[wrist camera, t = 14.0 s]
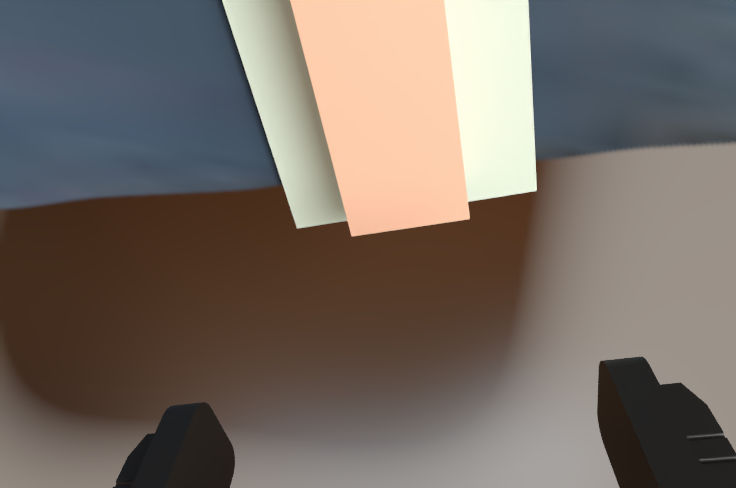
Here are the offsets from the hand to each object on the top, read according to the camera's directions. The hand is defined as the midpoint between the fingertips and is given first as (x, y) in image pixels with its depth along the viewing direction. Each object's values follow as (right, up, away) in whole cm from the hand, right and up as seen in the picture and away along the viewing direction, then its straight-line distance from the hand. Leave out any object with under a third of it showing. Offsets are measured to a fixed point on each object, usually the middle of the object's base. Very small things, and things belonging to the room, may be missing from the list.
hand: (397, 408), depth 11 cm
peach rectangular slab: (0, +12, +11) cm, 16 cm away
